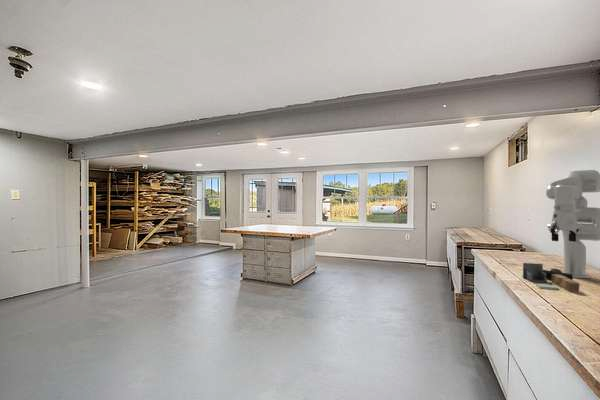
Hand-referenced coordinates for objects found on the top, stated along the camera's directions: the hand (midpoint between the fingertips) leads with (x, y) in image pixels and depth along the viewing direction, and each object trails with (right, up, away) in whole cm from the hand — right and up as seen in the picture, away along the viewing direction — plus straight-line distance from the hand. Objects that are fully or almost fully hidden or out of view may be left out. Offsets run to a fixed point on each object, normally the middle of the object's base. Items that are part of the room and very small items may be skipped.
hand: (563, 241), depth 148 cm
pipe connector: (+10, -25, +16) cm, 31 cm away
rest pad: (-9, -24, 0) cm, 26 cm away
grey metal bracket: (-5, -24, +13) cm, 28 cm away
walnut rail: (+1, -25, +1) cm, 25 cm away
